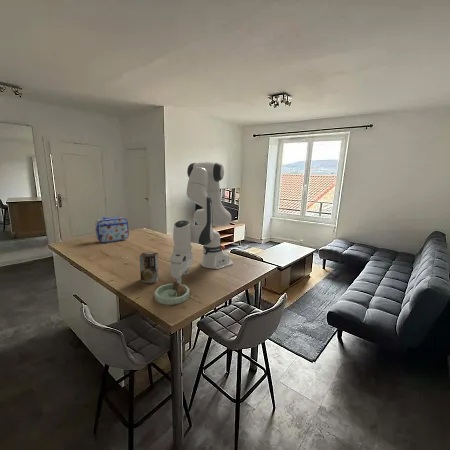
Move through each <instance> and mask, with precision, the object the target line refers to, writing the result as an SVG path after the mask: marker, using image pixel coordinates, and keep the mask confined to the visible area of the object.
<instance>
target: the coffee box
mask: <svg viewBox="0 0 450 450" xmlns="http://www.w3.org/2000/svg"><path fill="white" fill-rule="evenodd" d="M139 270H140V271H139V272H140V283H153V284H154V283H157V282H158V280H159V278H160V277H159V275H160V274H159V255H158V252H142V253H141V254H140V255H139Z"/></svg>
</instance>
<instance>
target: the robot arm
mask: <svg viewBox="0 0 450 450" xmlns="http://www.w3.org/2000/svg"><path fill="white" fill-rule="evenodd" d="M186 174H187V177H188V181H187V186H186V196H187V198H188V200H190V201H191V202H192V203H194V204H196V205H198V206H199V207H202V208H200V209H196V210H195V212H194V214H193V220H194V222H195V223H196V224H191V223H190V222H189V221H187V220H182V219H181V220H179V221H177V222H176V221H175V223H174V225H173V229H172V230H173V231H172V240H173V251H172V253H171V256H170V258H169V262H170V276H171V278H172V279H175V280H177V283H180V284H182V282H183V281H182V280H183V279H182V278H181V277H182V276H183V274H184V275H185V276H188V275H189V273H190V267H191V265H192V264H193V262H194V258H193V251H192V245H191V244H199V245H202V248H203V249H202V254H203V256H202V260H201V264H200V265H201V266H202V267H203V268H205V269H206V268H207V269H215V270H219V269H222V268H226V267H229V266H232V265H233V264H234V262H233V261H232V260H231V257H230V255H229V254H228V253H227V252H226V251H224V250H225V248H226V247H225V245H221V234H220V233H219V231H217V230H216V229H215V228H214V227H227V226H229V225H230V224H231V222H232V214H231V213H230V211H228V210H227V209H226V208H225V207H224V205H223V203H222V199H221V186H220V182H221V181H222V180H223V179H224V175H225V169H224V166H223V165H222V163H219V162H208V161H205V162H193V163H189V165H188V167H187V171H186Z"/></svg>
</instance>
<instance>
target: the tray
mask: <svg viewBox="0 0 450 450" xmlns="http://www.w3.org/2000/svg"><path fill="white" fill-rule="evenodd" d="M180 285H185V294H184V295H182V296H180V297H177V292H176V289H173V282H172V283H166V284H162V285H161V286H159V287H157V288H156V289H155V291H154V298H155V301H156V302H157V303H159V304H161V305H166V306H174V305H180V304H182V303H185V302H187V300H188V299H189V297H190V291H191V289H190V288H189V286H187V285H186V284H182V283H180Z"/></svg>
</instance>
